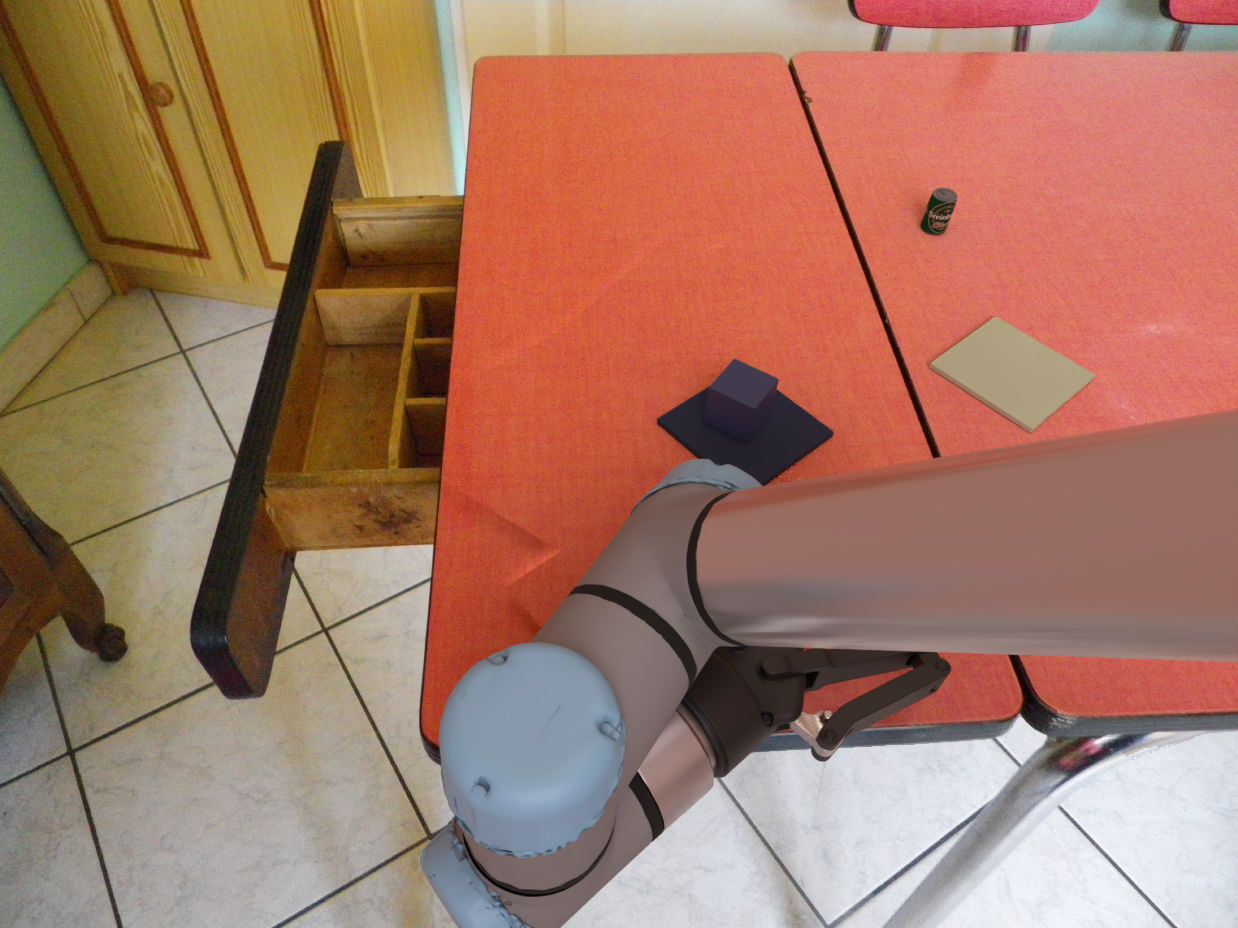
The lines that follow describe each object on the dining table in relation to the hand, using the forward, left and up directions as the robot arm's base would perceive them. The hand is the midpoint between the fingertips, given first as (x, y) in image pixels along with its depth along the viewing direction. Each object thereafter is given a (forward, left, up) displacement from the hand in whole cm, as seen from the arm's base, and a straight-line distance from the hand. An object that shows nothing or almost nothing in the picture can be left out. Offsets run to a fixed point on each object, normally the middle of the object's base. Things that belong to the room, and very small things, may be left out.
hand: (909, 530), depth 59 cm
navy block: (+19, -4, -7) cm, 20 cm away
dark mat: (+18, -4, -7) cm, 20 cm away
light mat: (+7, -29, -7) cm, 30 cm away
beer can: (+26, -43, -7) cm, 50 cm away
